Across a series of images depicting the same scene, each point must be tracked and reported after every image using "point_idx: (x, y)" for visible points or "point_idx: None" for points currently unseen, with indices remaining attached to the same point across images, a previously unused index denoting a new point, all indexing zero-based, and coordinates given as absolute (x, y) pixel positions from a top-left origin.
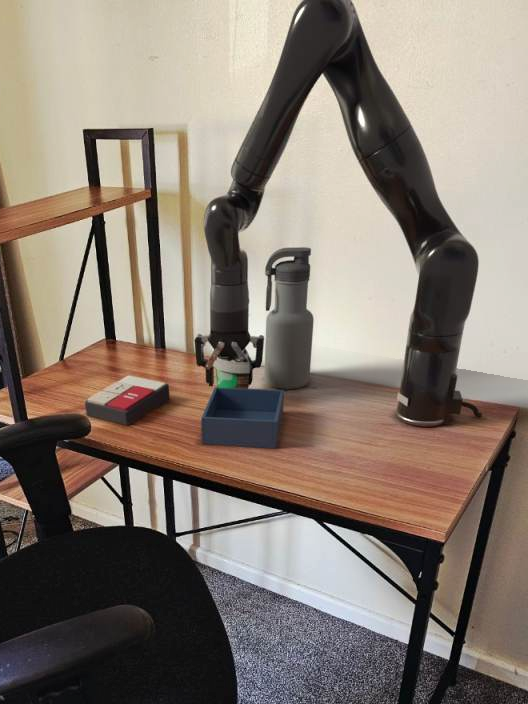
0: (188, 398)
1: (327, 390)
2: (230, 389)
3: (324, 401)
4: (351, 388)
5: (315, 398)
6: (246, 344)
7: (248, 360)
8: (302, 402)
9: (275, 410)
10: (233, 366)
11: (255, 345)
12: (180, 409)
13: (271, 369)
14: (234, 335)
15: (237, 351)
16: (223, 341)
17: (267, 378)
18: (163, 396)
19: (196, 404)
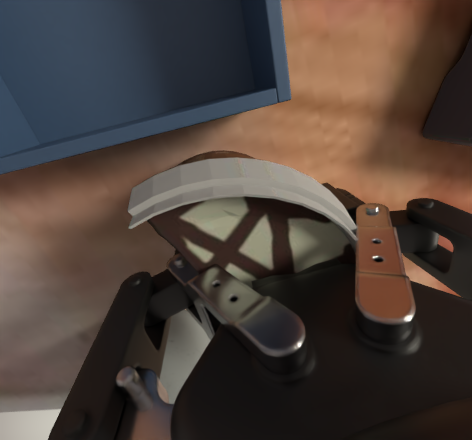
0: (366, 170)
1: (46, 338)
2: (212, 103)
3: (5, 284)
4: (3, 364)
5: (40, 291)
6: (193, 370)
7: (183, 287)
8: (54, 259)
9: (52, 141)
10: (224, 175)
11: (123, 381)
12: (376, 76)
13: (175, 346)
14: (312, 428)
15: (244, 299)
16: (382, 334)
17: (191, 324)
18: (458, 98)
19: (335, 136)
